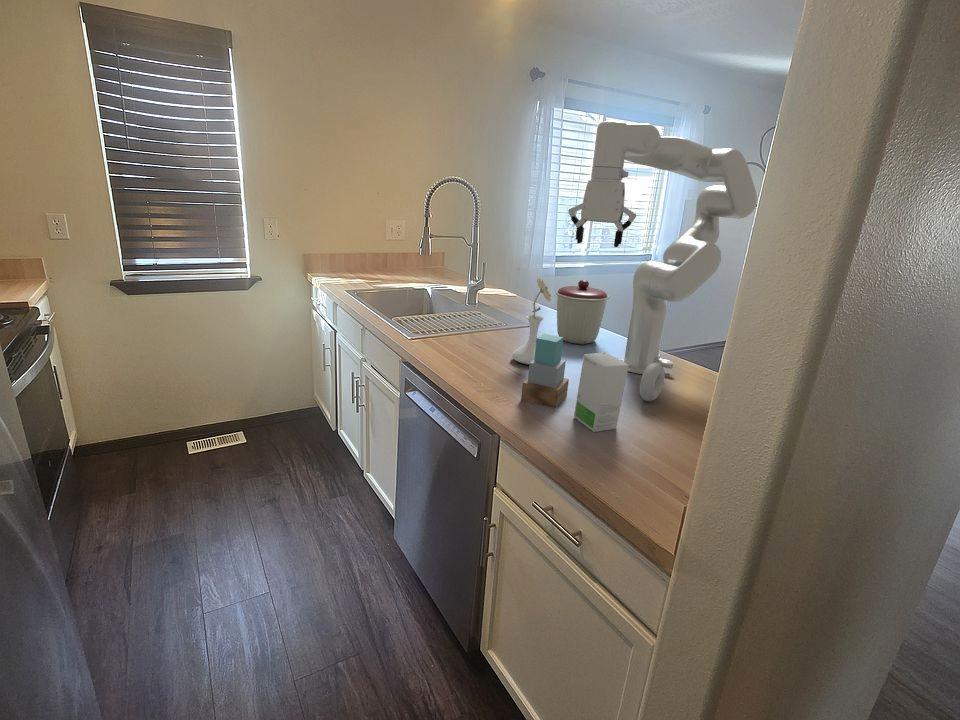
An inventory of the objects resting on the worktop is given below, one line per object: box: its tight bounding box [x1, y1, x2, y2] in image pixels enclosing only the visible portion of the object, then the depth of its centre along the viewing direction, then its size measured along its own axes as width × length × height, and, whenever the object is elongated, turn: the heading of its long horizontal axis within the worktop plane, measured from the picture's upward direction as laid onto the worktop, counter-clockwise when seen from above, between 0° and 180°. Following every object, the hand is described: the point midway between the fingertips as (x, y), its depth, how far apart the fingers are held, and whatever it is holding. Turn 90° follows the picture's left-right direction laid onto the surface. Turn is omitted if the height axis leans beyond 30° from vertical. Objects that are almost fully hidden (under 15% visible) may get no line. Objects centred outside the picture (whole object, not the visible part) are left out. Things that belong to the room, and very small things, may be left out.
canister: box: [554, 279, 610, 345], centre depth 177 cm, size 18×18×21 cm
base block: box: [520, 377, 570, 409], centre depth 128 cm, size 9×9×5 cm
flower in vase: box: [511, 277, 552, 365], centre depth 152 cm, size 13×11×25 cm
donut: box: [639, 363, 666, 402], centre depth 130 cm, size 10×3×10 cm, turn 141°
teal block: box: [534, 333, 564, 366], centre depth 125 cm, size 5×5×6 cm
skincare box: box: [573, 351, 629, 433], centre depth 114 cm, size 8×7×16 cm
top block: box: [527, 359, 566, 388], centre depth 127 cm, size 7×7×5 cm
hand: (597, 244), depth 135 cm, fingers open, 9 cm apart
